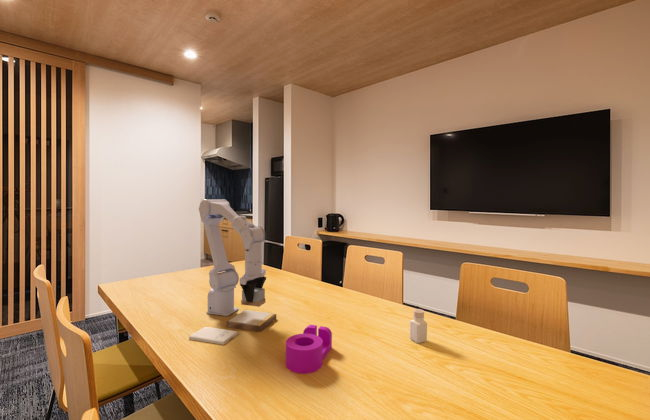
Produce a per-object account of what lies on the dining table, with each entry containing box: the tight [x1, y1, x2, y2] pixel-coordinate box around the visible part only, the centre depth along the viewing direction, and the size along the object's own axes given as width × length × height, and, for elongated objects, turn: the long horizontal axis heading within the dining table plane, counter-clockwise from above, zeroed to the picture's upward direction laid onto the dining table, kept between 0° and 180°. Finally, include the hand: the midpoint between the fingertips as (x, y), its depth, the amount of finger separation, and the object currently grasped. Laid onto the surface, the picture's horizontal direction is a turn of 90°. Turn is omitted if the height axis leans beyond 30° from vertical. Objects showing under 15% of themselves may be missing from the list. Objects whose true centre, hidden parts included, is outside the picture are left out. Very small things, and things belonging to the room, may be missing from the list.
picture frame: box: [225, 309, 277, 333], centre depth 114 cm, size 13×12×2 cm
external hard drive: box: [188, 326, 239, 346], centre depth 102 cm, size 2×8×12 cm
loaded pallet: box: [240, 287, 266, 308], centre depth 113 cm, size 7×5×5 cm, turn 73°
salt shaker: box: [409, 308, 428, 344], centre depth 101 cm, size 4×4×10 cm
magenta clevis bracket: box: [285, 324, 333, 375], centre depth 89 cm, size 16×10×6 cm, turn 160°
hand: (253, 299), depth 113 cm, fingers closed on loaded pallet, 5 cm apart
